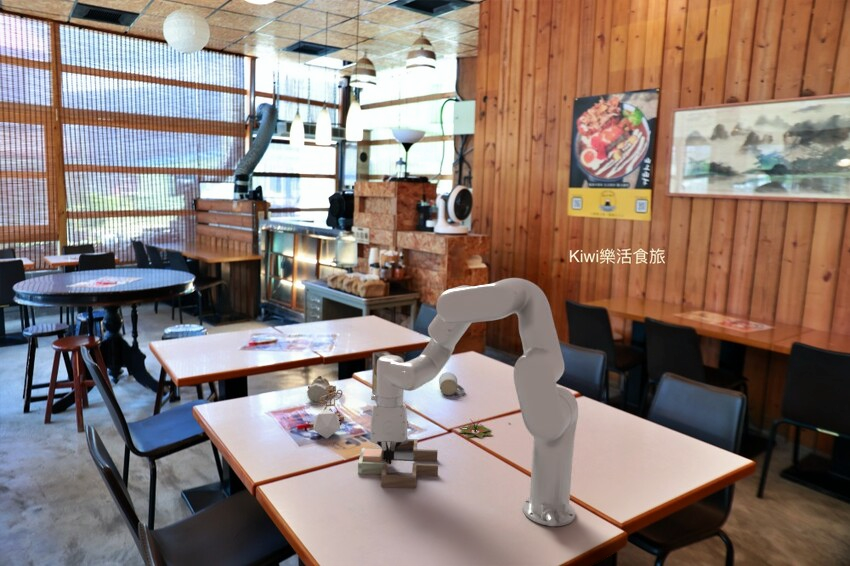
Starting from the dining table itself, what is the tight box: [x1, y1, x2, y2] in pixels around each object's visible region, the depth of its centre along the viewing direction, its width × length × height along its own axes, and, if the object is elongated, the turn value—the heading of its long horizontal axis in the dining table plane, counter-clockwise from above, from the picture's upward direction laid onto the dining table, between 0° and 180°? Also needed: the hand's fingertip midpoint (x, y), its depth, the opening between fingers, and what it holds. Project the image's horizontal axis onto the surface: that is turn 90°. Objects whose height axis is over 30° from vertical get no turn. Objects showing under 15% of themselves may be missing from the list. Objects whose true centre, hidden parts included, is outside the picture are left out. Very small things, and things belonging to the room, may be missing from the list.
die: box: [312, 408, 341, 440], centre depth 182 cm, size 8×9×10 cm
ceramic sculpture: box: [306, 375, 337, 403], centre depth 216 cm, size 11×9×15 cm
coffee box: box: [371, 350, 393, 395], centre depth 220 cm, size 9×6×16 cm
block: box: [363, 447, 383, 462], centre depth 163 cm, size 5×5×4 cm
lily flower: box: [458, 418, 494, 440], centre depth 189 cm, size 12×12×5 cm
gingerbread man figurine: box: [318, 384, 345, 421], centre depth 195 cm, size 9×4×12 cm, turn 112°
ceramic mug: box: [438, 371, 466, 396], centre depth 226 cm, size 10×8×7 cm
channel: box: [357, 438, 439, 489], centre depth 163 cm, size 24×22×3 cm
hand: (388, 461), depth 163 cm, fingers closed
